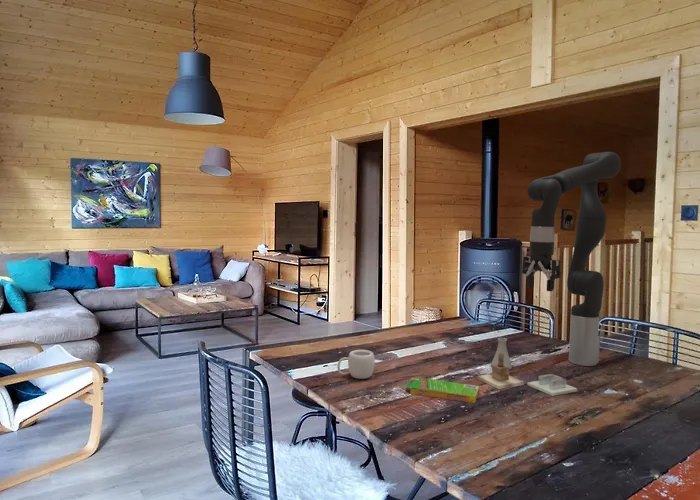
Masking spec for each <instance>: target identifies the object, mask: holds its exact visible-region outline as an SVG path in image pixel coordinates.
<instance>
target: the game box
mask: <svg viewBox="0 0 700 500" xmlns="http://www.w3.org/2000/svg"><path fill="white" fill-rule="evenodd" d="M405 388H410V391H409V392H410V394H411V395H419V396H424V397H430V398H437V399H444V400H451V401H457V402H463V403H464V402H465V403H472V404H475V403H476V401H477V398H478V395H479V393H480V386H479V385H473V384H467V383H460V382H452V381H446V380H439V379H432V378H423V377H415V376H414V377H411V379H410V380H409V381H408V382H407V383H406V384H405Z"/></svg>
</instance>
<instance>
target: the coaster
mask: <svg viewBox="0 0 700 500" xmlns="http://www.w3.org/2000/svg"><path fill="white" fill-rule="evenodd" d="M527 386H529V387H531V388H533V389H535V390H538V391H541V392H543V393H546V394H547V395H549V396H552V397H554V396H561V395H565V394H569V393H575V392H578V388H576V387H574V386H572V385H569V384H567V383H566V387H565V388H560V389H554V390H552V389H549V384H546V385H540V384H538V380H534V381H530V382H527Z"/></svg>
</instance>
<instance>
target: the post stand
mask: <svg viewBox="0 0 700 500" xmlns="http://www.w3.org/2000/svg"><path fill="white" fill-rule="evenodd" d="M503 364H504V354H503V353H499V356H498V365H492V366H491V373H487V374H482V375H481V374H480V375H477V376H476V379H477V380H478V381H480V382H482V383H485V384H487V385H489V386H491V387H493V388H495V389H496V390H497V389H498V390H502V389H508V388H509V389H510V388H513V387H519V386H525V385H524V384H525V381H523V380H521V379H518V378H516V377H514V376H512V375H510V369H509V367H507V366H505V365H503Z"/></svg>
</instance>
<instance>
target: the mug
mask: <svg viewBox="0 0 700 500" xmlns="http://www.w3.org/2000/svg"><path fill="white" fill-rule="evenodd" d="M344 360H346V361H347V365H348V371H345V372H343V371H342V370H341V368H340V367H341V362H342V361H344ZM337 362H338V363H337V364H336V365H337V367H336V369H337V371H338V373H339V374H341V375H343V376H345V375H346V376H347V375H349V374H350V375H351V377H352V378H355V379H358V380H365V379H369V378H371V376H372V375H373V372H374V369H375V354H374V352H373V351H372V350H371V351H370V350H368V349H355V350H352V351H350V352H349V354H348V356H347V357H345V356H344V357H341V358H340V359H339V360H338V361H337Z"/></svg>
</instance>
